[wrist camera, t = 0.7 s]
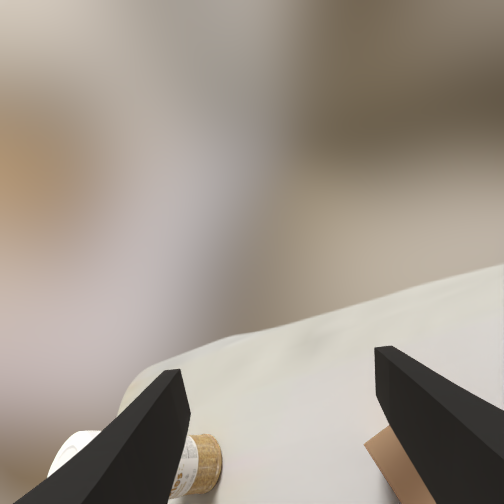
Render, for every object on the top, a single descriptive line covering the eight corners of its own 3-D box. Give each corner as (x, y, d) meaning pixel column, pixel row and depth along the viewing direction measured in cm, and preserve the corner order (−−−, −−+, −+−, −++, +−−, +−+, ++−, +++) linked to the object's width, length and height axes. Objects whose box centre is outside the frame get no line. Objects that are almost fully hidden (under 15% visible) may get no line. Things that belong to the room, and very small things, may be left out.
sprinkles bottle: (200, 506, 23) (34, 550, 14) (183, 457, 26) (40, 467, 17) (231, 465, 23) (88, 482, 14) (211, 421, 27) (84, 413, 18)
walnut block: (519, 490, 14) (537, 506, 11) (446, 538, 15) (442, 567, 11) (436, 402, 18) (431, 393, 15) (381, 443, 18) (363, 444, 15)
